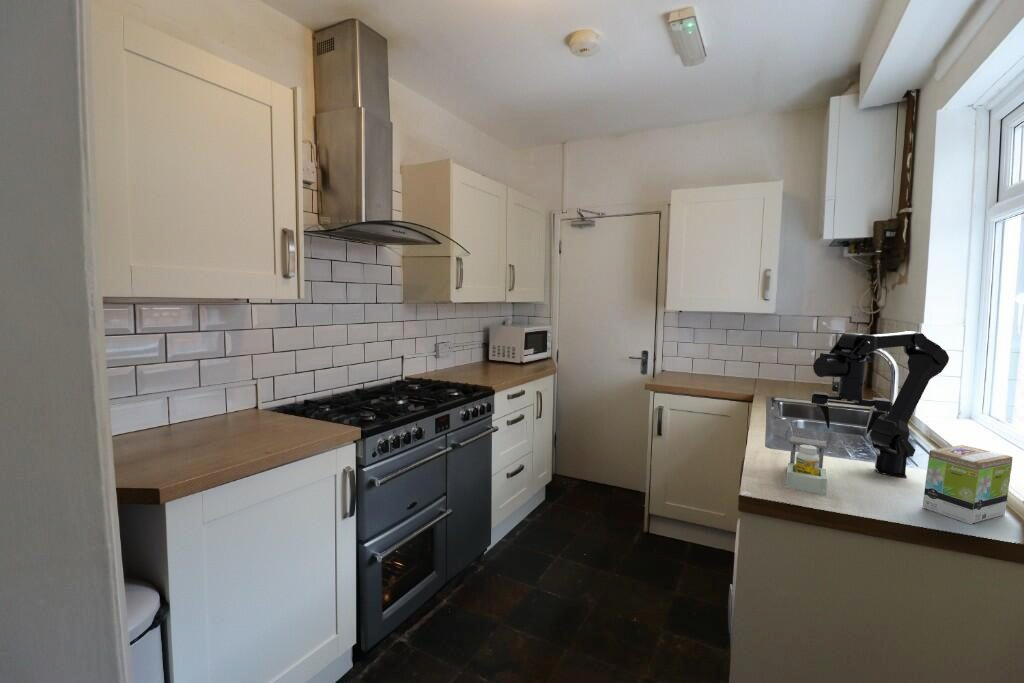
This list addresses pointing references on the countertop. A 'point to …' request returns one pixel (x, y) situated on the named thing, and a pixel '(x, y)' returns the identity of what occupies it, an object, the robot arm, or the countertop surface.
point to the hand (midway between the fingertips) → (847, 430)
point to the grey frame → (803, 441)
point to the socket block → (806, 480)
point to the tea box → (967, 483)
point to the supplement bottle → (807, 460)
